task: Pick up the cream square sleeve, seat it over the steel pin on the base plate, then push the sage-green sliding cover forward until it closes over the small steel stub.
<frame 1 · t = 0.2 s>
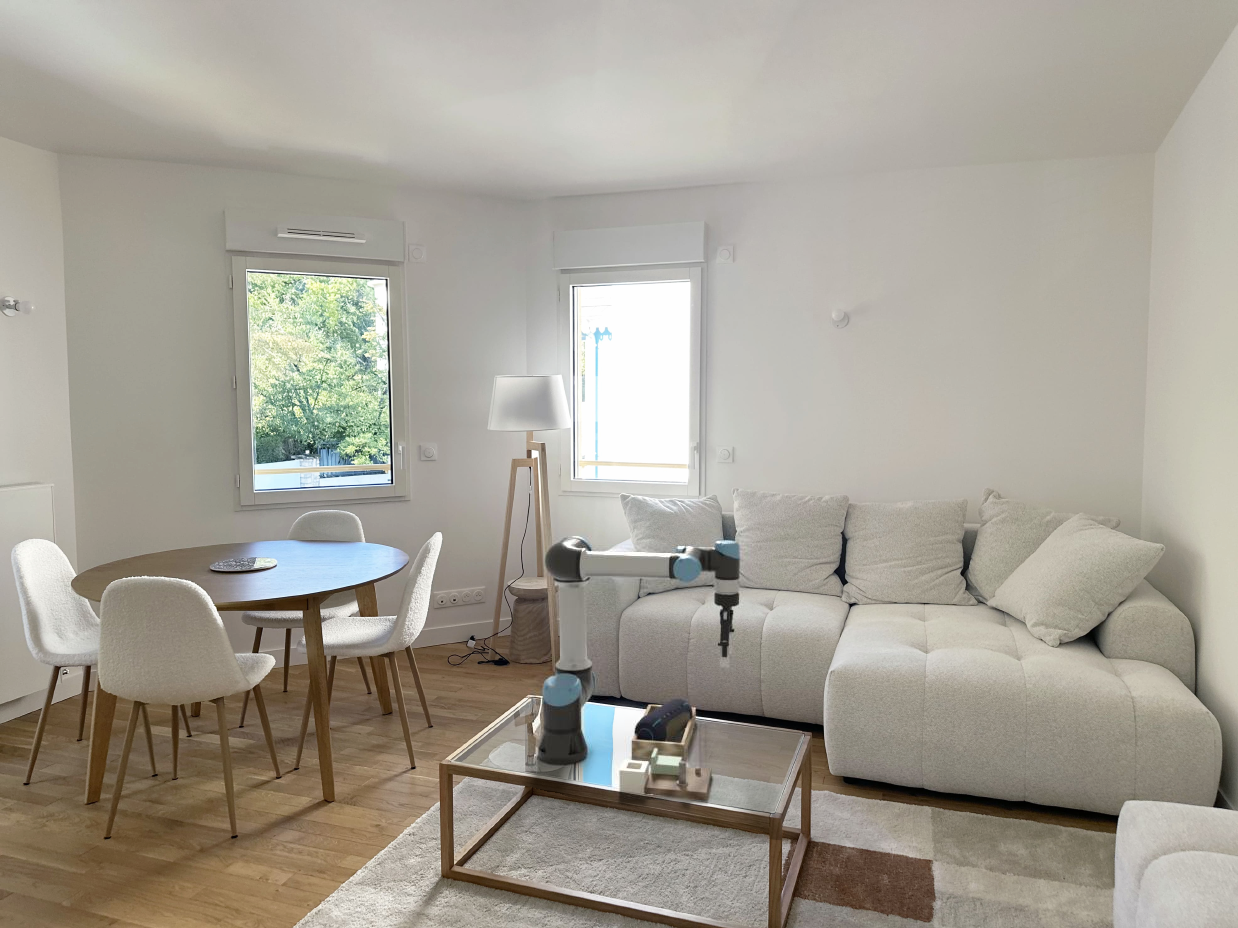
hand: (726, 660, 257), 28 cm above the table, fingers open, 13 cm apart
open wooden box: (665, 738, 269), on the table
sleeve: (634, 786, 235), on the table
portable speaker: (665, 738, 269), resting in open wooden box
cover: (666, 761, 241), point 5 cm above the table, slide at 0.0 cm
base plate: (678, 784, 236), on the table
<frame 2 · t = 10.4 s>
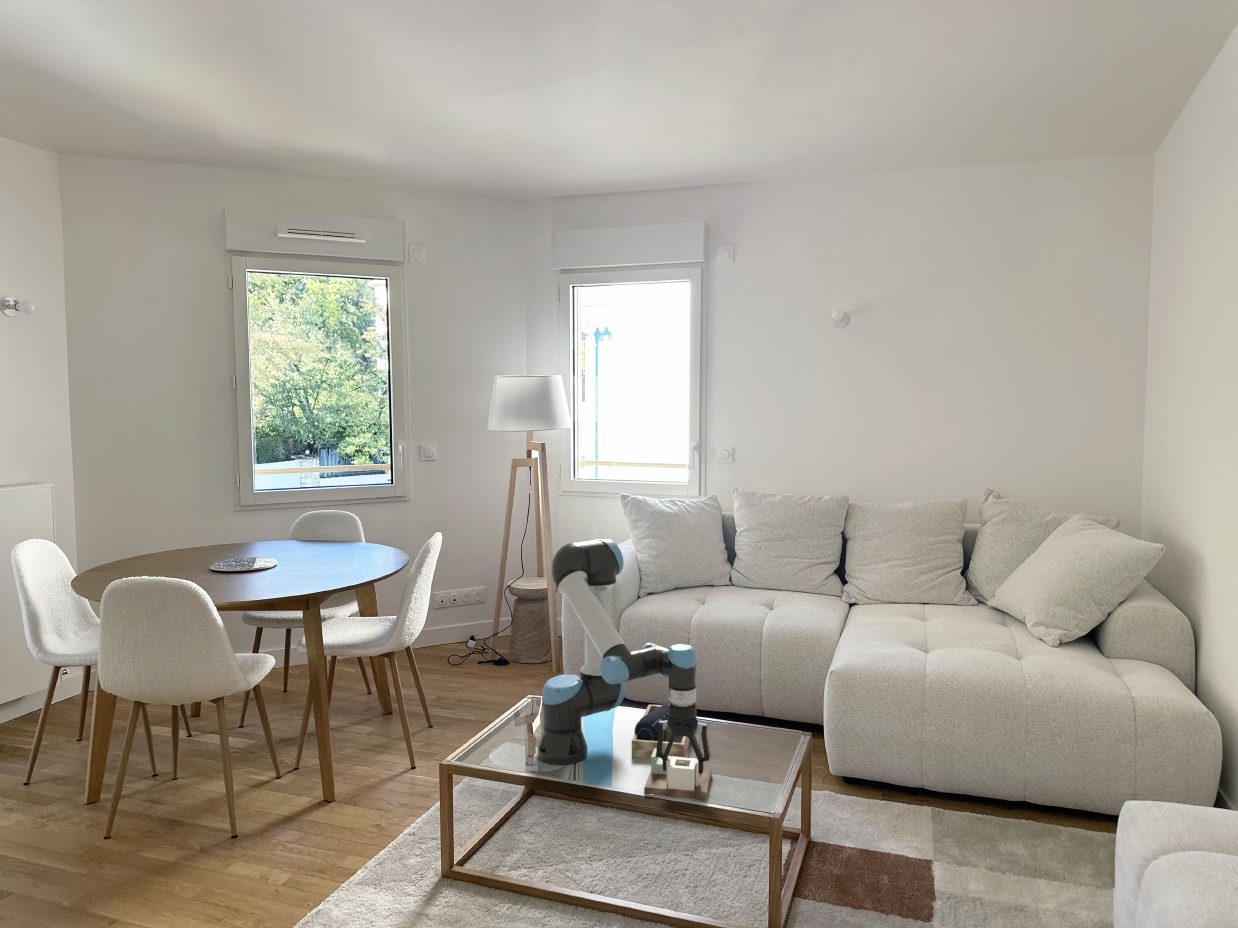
hand: (683, 782, 232), 2 cm above the table, fingers open, 7 cm apart
sleeve: (682, 783, 232), point 2 cm above the table, touching base plate
everything else where it was.
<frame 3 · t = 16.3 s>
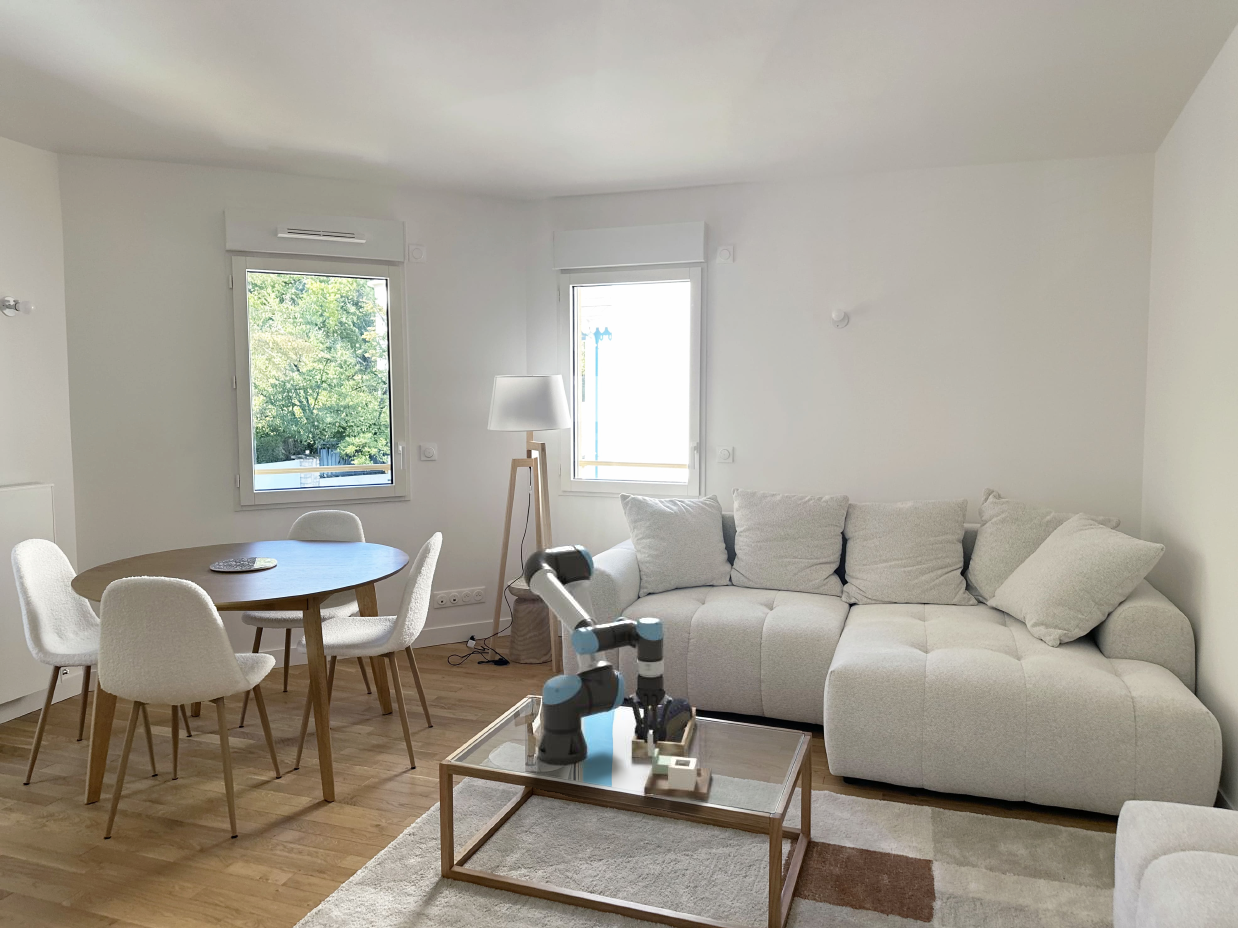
hand: (651, 753, 241), 7 cm above the table, fingers closed
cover: (667, 761, 241), point 5 cm above the table, slide at 0.3 cm, touching gripper
everything else where it was.
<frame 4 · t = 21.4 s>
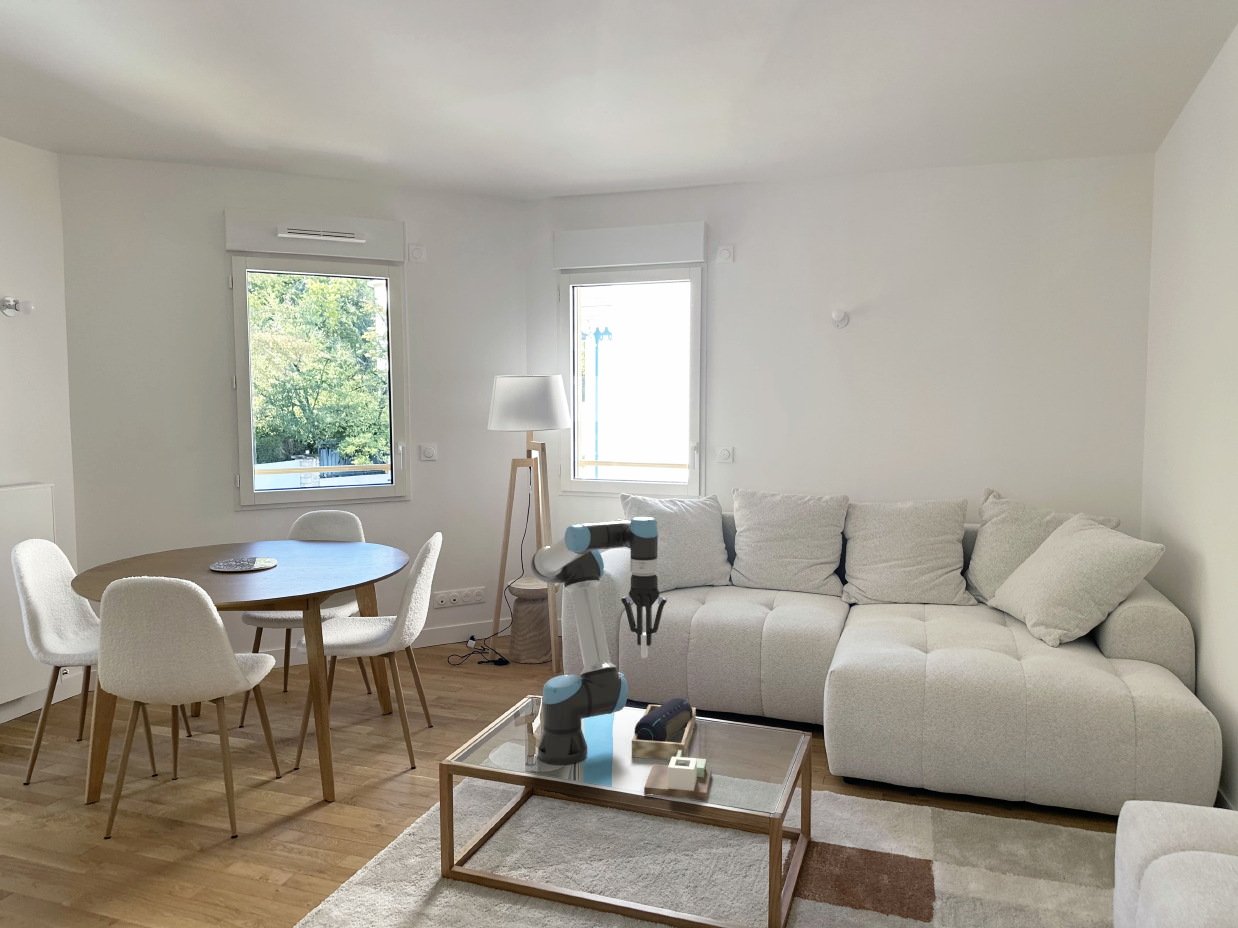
hand: (644, 656, 235), 36 cm above the table, fingers closed
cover: (690, 763, 239), point 5 cm above the table, slide at 7.0 cm
everything else where it was.
at the end: sleeve 0.1 cm from the target spot on the base plate, point 2.0 cm above the base plate's base; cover slide at 7.0 cm; the gripper is holding nothing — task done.
